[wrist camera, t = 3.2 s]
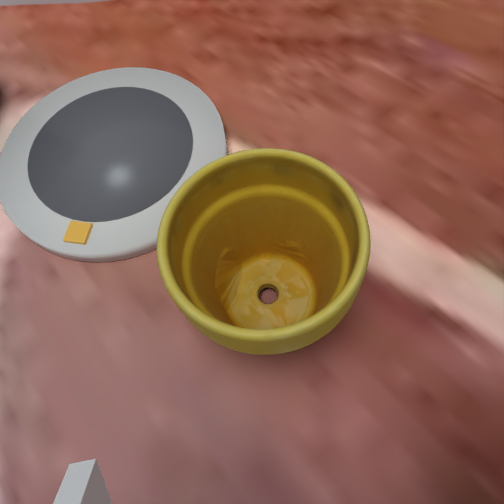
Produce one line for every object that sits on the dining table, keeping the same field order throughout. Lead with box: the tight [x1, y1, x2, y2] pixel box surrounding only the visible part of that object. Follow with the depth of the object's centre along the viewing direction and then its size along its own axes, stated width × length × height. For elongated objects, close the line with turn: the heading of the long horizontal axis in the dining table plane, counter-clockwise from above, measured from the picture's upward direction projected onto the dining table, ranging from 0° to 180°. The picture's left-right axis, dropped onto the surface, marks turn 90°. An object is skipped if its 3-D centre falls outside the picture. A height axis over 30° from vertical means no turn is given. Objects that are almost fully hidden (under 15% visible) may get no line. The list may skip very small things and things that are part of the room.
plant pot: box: [157, 148, 370, 355], centre depth 25 cm, size 10×10×10 cm
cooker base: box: [0, 67, 227, 262], centre depth 35 cm, size 18×18×2 cm
